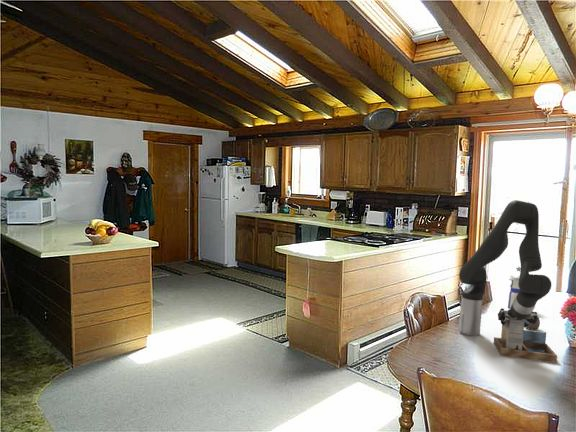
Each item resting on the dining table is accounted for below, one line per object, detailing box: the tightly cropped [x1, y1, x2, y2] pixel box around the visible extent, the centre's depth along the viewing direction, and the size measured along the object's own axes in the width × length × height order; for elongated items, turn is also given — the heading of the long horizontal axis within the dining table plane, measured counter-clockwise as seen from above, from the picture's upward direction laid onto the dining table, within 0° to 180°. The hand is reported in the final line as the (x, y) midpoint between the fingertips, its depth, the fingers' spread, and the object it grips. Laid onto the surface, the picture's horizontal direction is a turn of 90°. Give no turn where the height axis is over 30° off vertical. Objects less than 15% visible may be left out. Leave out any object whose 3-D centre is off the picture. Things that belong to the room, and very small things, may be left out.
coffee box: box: [500, 317, 525, 350], centre depth 182 cm, size 9×6×16 cm
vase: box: [526, 311, 541, 331], centre depth 213 cm, size 7×7×9 cm
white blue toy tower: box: [507, 266, 521, 310], centre depth 248 cm, size 8×9×25 cm
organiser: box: [493, 329, 558, 364], centre depth 181 cm, size 21×14×8 cm, turn 75°
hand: (513, 324), depth 181 cm, fingers open, 8 cm apart
